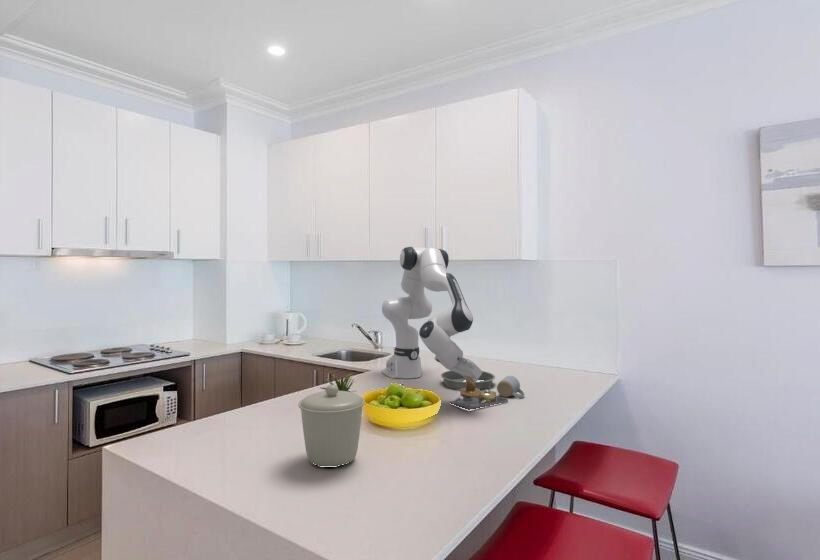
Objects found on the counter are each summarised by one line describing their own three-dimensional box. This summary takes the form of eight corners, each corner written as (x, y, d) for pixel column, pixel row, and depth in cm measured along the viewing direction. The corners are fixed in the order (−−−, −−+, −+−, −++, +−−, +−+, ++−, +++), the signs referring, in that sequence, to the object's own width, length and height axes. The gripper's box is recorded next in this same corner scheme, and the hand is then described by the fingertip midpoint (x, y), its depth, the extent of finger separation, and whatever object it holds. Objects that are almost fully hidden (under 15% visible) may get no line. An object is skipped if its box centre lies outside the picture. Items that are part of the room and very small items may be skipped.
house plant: (333, 409, 174) (332, 366, 174) (367, 413, 170) (367, 369, 170) (314, 421, 161) (313, 374, 160) (350, 425, 156) (350, 377, 156)
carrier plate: (449, 404, 181) (449, 392, 181) (487, 396, 193) (487, 385, 193) (469, 412, 171) (469, 399, 171) (508, 402, 184) (508, 391, 183)
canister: (335, 443, 141) (334, 374, 140) (378, 458, 129) (378, 383, 129) (285, 462, 127) (284, 386, 126) (328, 481, 115) (328, 397, 115)
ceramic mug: (495, 396, 192) (496, 378, 192) (503, 392, 199) (503, 374, 199) (520, 400, 187) (520, 382, 186) (527, 396, 194) (527, 378, 193)
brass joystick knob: (455, 394, 180) (456, 369, 180) (471, 391, 185) (471, 366, 185) (469, 399, 174) (470, 372, 174) (485, 395, 179) (485, 370, 178)
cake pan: (438, 390, 203) (438, 380, 202) (443, 377, 227) (444, 368, 227) (495, 393, 198) (495, 382, 198) (495, 379, 222) (495, 370, 222)
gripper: (472, 354, 167) (493, 377, 172) (441, 345, 184) (461, 367, 189) (462, 367, 165) (484, 391, 170) (431, 358, 182) (452, 379, 187)
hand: (471, 378), depth 180 cm, fingers closed on brass joystick knob, 4 cm apart
